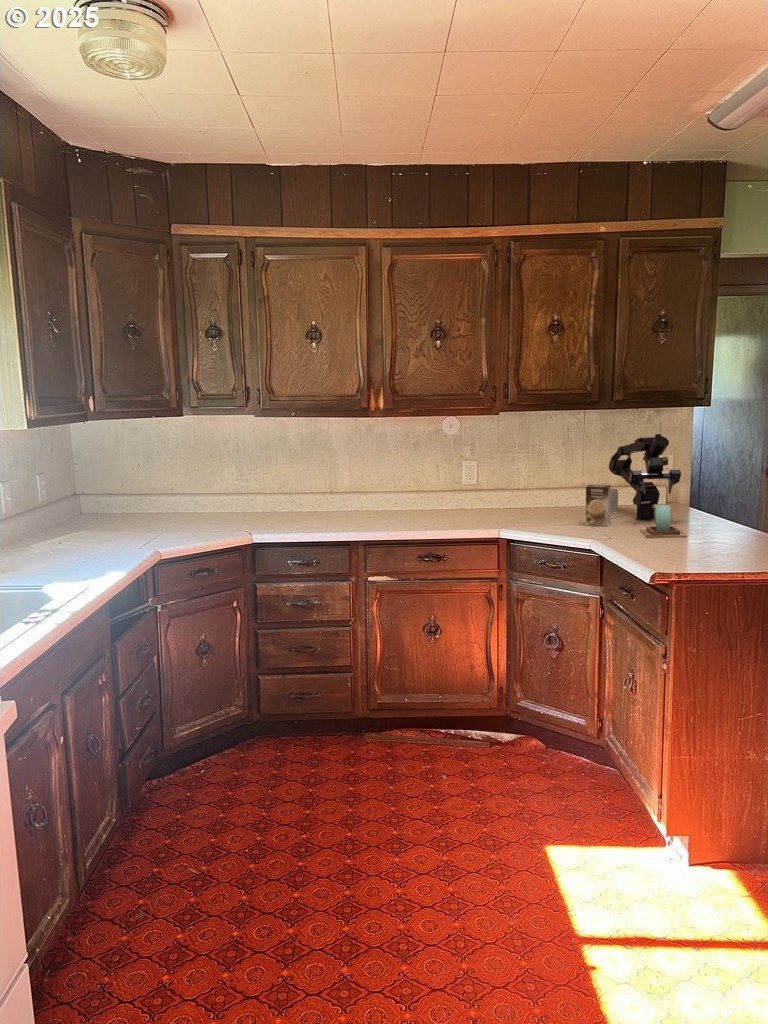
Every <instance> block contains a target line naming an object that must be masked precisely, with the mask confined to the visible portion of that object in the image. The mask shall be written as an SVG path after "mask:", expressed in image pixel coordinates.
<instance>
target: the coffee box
mask: <svg viewBox="0 0 768 1024" xmlns="http://www.w3.org/2000/svg"><path fill="white" fill-rule="evenodd" d="M611 489H612V488H611V485H610V484H588V485H586V487H585V527H606V526H608V527H609V526H610V525H611V514H610V494H611Z"/></svg>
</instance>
